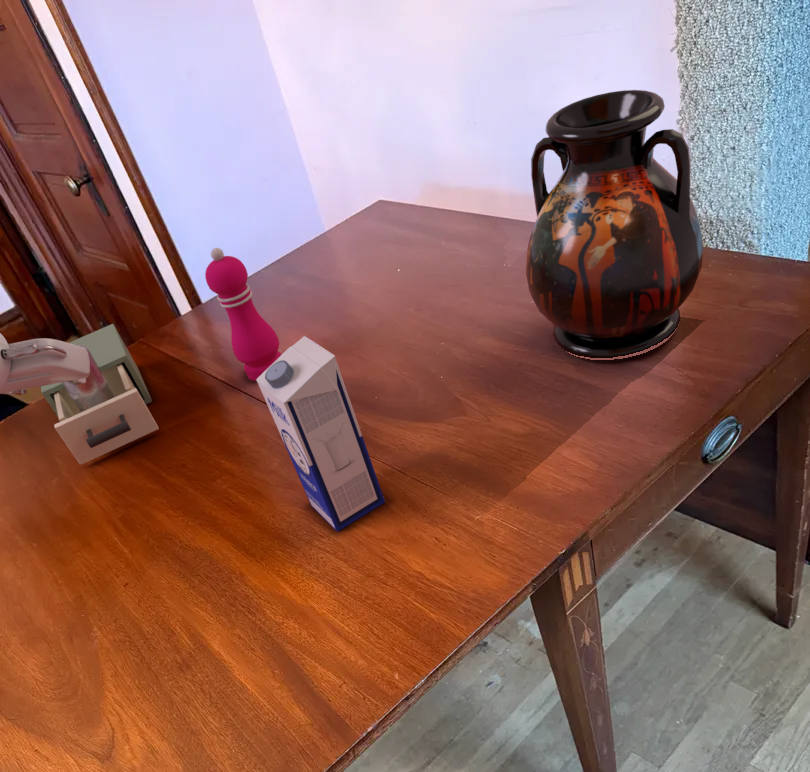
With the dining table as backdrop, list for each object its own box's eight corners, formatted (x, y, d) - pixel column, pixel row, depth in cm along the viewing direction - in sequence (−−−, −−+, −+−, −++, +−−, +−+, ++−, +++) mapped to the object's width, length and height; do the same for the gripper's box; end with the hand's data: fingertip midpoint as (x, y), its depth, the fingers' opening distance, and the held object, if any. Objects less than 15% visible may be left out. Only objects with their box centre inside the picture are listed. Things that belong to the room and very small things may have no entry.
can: (95, 440, 111) (51, 371, 103) (91, 423, 115) (48, 356, 107) (130, 423, 112) (89, 354, 104) (125, 408, 116) (84, 340, 108)
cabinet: (152, 401, 120) (126, 355, 114) (72, 438, 118) (41, 392, 112) (137, 367, 131) (113, 323, 125) (63, 400, 129) (35, 357, 123)
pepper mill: (265, 355, 122) (215, 235, 109) (297, 360, 118) (249, 237, 105) (236, 379, 119) (180, 259, 105) (267, 386, 115) (213, 262, 101)
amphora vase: (509, 368, 102) (472, 152, 83) (574, 289, 113) (554, 83, 94) (667, 387, 90) (666, 141, 71) (722, 297, 101) (734, 64, 83)
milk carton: (386, 502, 87) (334, 354, 74) (338, 532, 86) (276, 385, 72) (356, 477, 92) (303, 333, 79) (310, 505, 91) (248, 363, 77)
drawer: (164, 441, 108) (142, 402, 104) (83, 479, 106) (57, 441, 102) (143, 392, 121) (123, 356, 117) (71, 425, 119) (47, 389, 115)
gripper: (42, 317, 86) (115, 348, 99) (-102, 347, 91) (-13, 372, 104) (47, 371, 86) (120, 394, 99) (-97, 398, 90) (-9, 417, 104)
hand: (51, 383), depth 102 cm, fingers open, 8 cm apart
